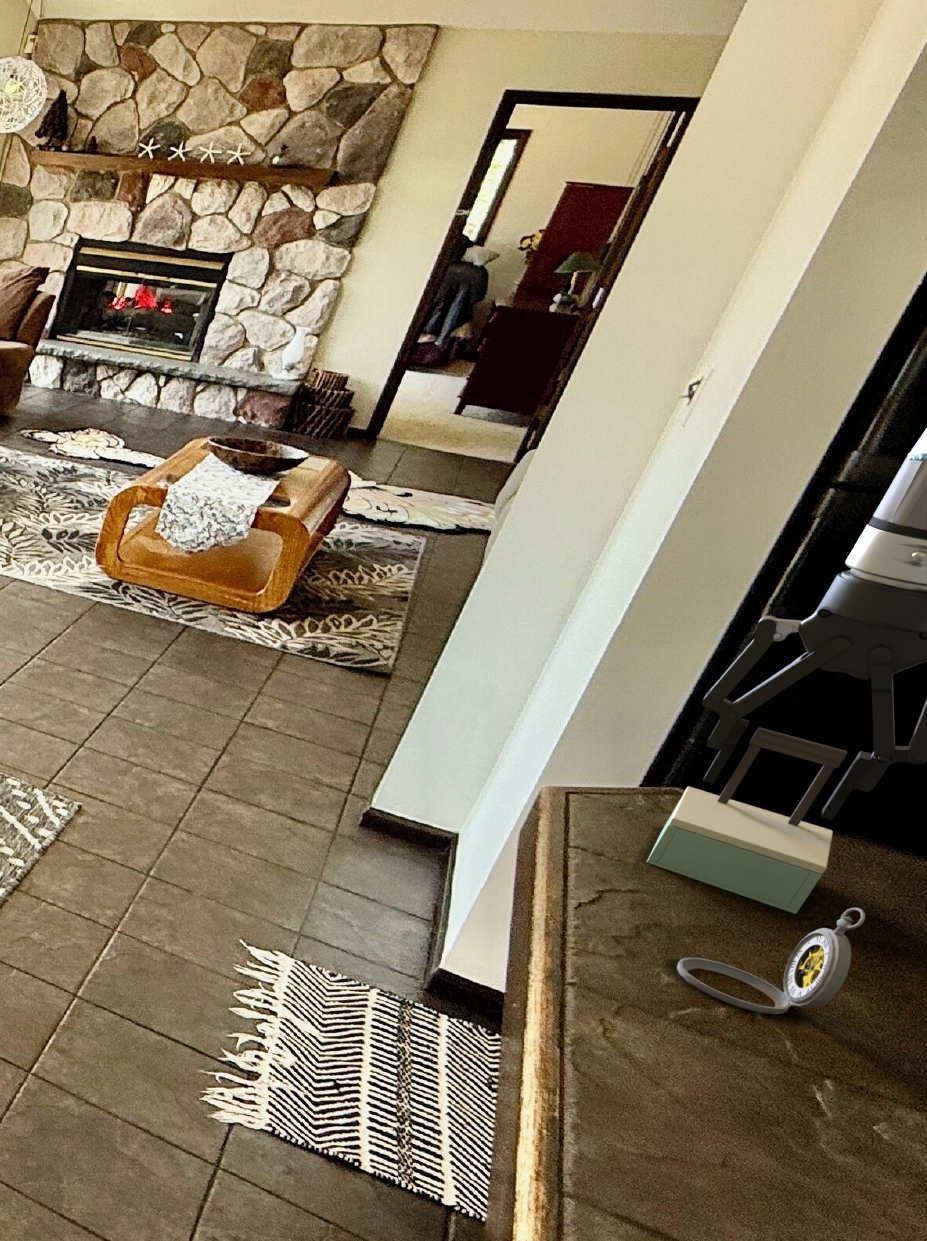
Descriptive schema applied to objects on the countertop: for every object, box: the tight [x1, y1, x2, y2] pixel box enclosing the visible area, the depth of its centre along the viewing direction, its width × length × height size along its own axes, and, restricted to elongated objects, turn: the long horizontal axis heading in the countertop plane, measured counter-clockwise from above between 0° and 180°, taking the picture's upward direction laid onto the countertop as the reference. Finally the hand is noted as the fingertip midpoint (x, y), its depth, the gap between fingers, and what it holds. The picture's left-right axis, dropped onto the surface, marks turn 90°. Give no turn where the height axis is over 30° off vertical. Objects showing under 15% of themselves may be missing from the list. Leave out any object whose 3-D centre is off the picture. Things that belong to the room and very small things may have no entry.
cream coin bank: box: [669, 727, 848, 875], centre depth 113 cm, size 12×10×9 cm
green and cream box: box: [646, 796, 823, 915], centre depth 116 cm, size 11×10×5 cm
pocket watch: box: [676, 907, 866, 1015], centre depth 95 cm, size 8×8×10 cm
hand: (767, 796), depth 116 cm, fingers open, 8 cm apart
